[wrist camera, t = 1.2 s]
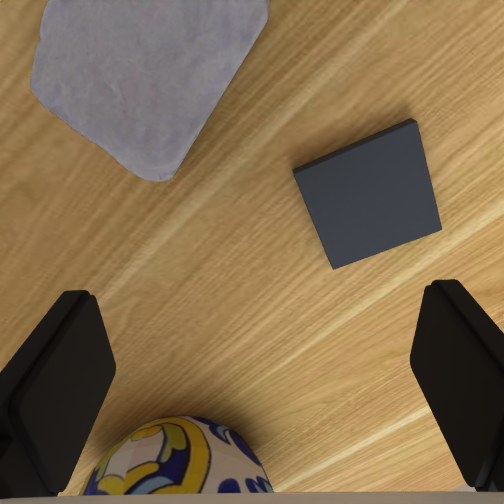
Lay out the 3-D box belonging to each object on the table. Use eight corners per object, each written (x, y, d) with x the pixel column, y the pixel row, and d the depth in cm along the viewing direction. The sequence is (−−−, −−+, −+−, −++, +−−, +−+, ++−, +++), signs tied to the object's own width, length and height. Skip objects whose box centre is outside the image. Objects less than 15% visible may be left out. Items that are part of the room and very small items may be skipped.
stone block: (56, 97, 25) (183, 186, 25) (-1, 94, 20) (155, 201, 21) (136, -101, 20) (286, 14, 21) (85, -162, 16) (278, -13, 16)
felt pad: (292, 169, 25) (293, 174, 24) (410, 118, 23) (416, 120, 23) (330, 263, 29) (333, 270, 28) (436, 224, 27) (442, 230, 26)
